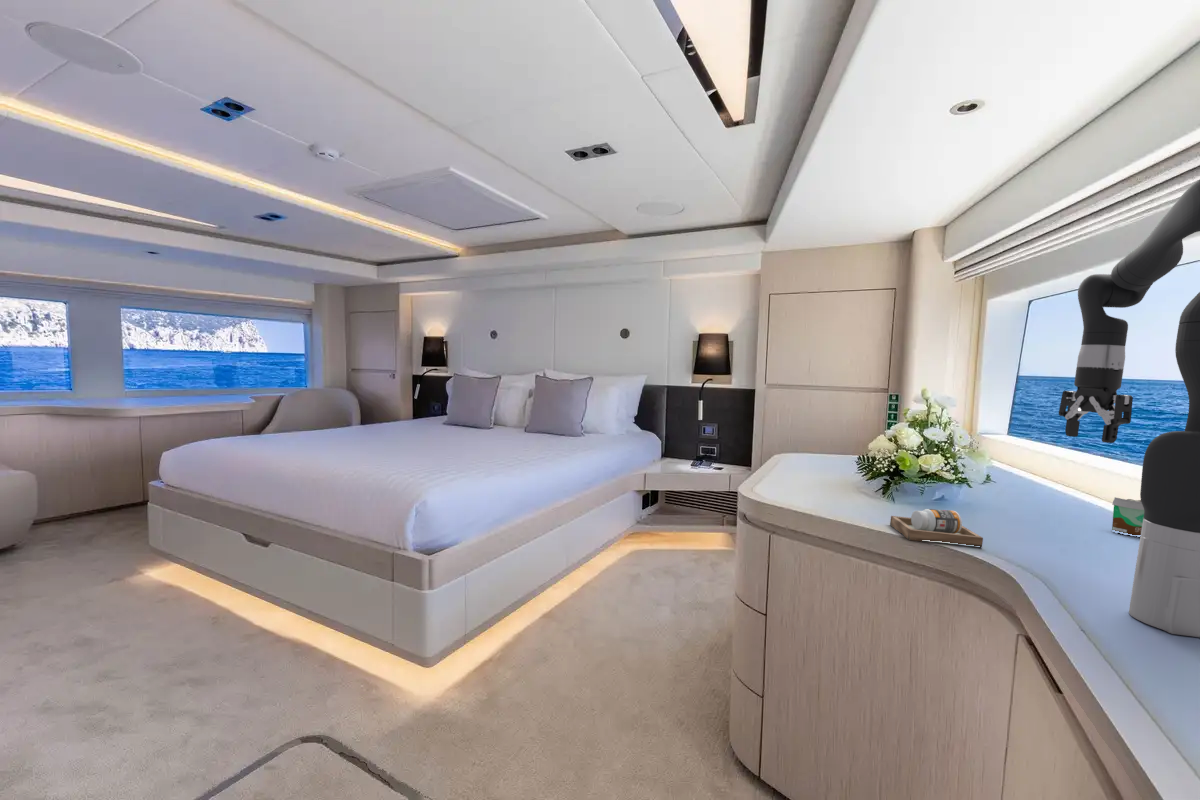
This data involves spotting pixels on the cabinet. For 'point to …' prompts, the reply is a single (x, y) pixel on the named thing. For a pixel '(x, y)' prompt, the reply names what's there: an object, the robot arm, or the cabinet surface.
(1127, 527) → the food container
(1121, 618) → the cabinet surface
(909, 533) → the tray
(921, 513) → the pill bottle
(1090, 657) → the cabinet surface
